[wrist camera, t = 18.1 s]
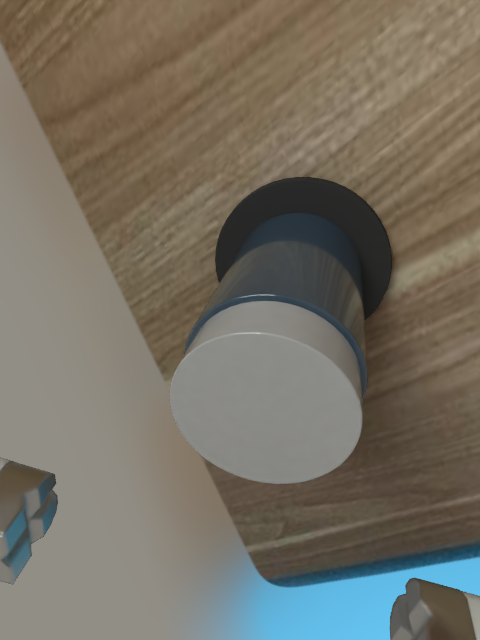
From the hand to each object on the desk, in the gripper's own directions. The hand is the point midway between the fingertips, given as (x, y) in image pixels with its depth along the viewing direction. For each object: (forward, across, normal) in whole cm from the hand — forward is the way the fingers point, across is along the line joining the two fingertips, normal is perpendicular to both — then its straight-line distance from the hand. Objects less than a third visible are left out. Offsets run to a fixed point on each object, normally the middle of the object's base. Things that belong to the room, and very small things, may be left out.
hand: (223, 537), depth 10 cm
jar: (+14, 0, +4) cm, 15 cm away
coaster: (+16, 0, 0) cm, 16 cm away
